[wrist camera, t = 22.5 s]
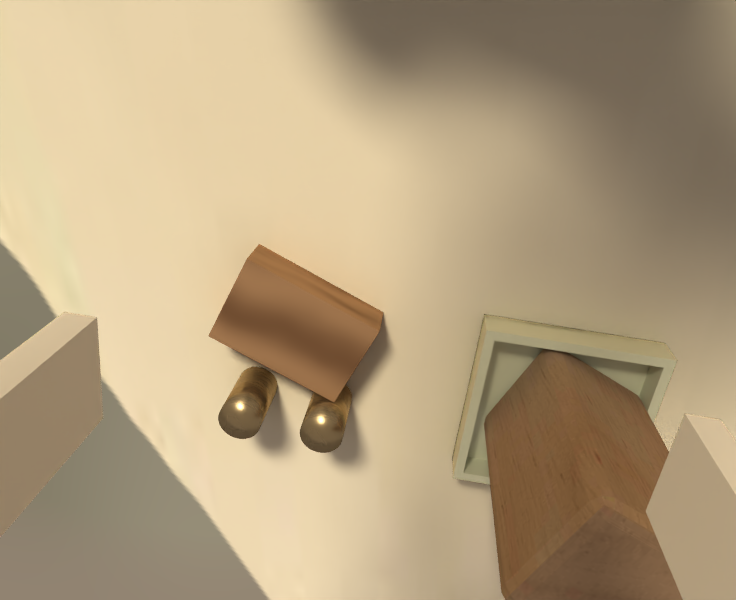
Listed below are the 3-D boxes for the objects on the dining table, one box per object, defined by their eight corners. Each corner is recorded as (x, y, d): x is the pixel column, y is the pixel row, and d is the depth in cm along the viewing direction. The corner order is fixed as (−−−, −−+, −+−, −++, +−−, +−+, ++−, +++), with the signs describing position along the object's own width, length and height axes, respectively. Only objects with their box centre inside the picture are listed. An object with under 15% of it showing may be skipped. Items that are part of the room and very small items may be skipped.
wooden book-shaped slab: (260, 242, 53) (246, 258, 49) (383, 310, 54) (379, 331, 50) (223, 315, 56) (208, 335, 52) (340, 378, 57) (334, 402, 54)
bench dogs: (240, 363, 57) (218, 399, 52) (354, 382, 57) (344, 420, 51) (238, 396, 59) (217, 435, 53) (349, 415, 58) (340, 455, 53)
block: (548, 335, 52) (605, 501, 34) (643, 394, 53) (748, 585, 35) (478, 418, 56) (496, 606, 38) (568, 471, 57) (628, 677, 39)
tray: (484, 314, 53) (486, 330, 50) (664, 343, 52) (677, 360, 49) (452, 457, 59) (452, 478, 56) (613, 484, 58) (621, 507, 55)
